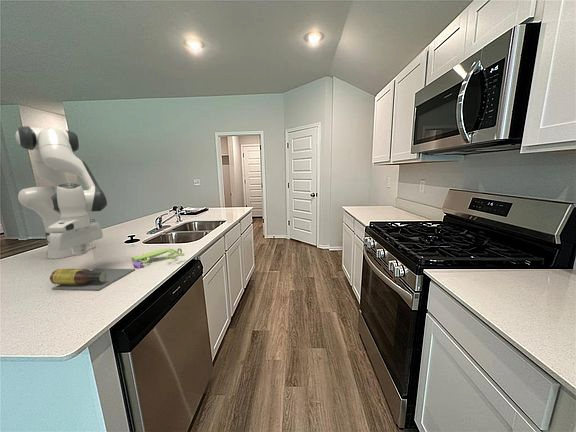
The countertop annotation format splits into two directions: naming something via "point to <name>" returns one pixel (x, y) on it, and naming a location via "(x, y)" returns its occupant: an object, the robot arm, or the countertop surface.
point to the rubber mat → (97, 286)
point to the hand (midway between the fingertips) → (82, 254)
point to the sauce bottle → (76, 276)
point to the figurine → (154, 254)
